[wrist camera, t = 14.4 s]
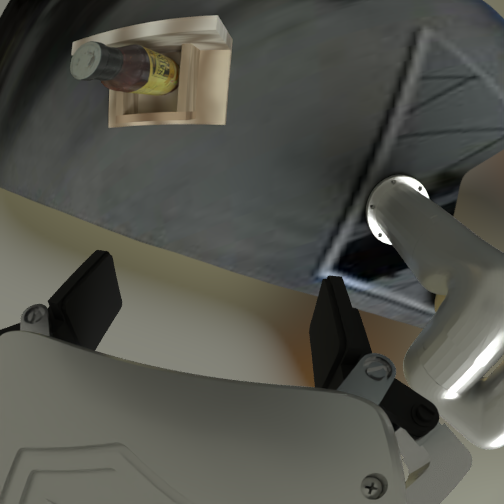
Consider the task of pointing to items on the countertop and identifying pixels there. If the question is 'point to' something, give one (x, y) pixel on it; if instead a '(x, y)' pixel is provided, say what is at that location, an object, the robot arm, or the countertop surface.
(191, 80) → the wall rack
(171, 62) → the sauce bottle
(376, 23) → the countertop surface
